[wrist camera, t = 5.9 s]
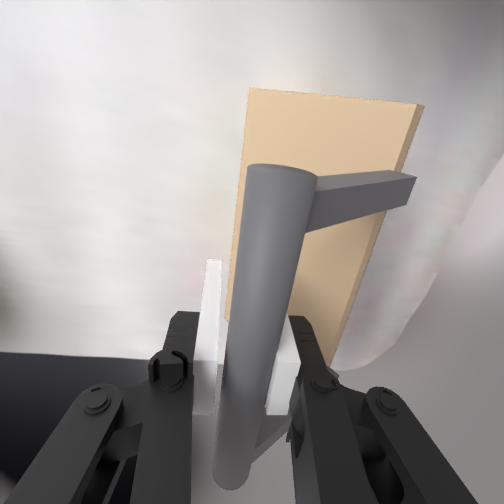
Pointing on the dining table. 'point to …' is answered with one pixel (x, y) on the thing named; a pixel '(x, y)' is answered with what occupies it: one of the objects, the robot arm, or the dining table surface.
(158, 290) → the dining table surface
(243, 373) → the flap
